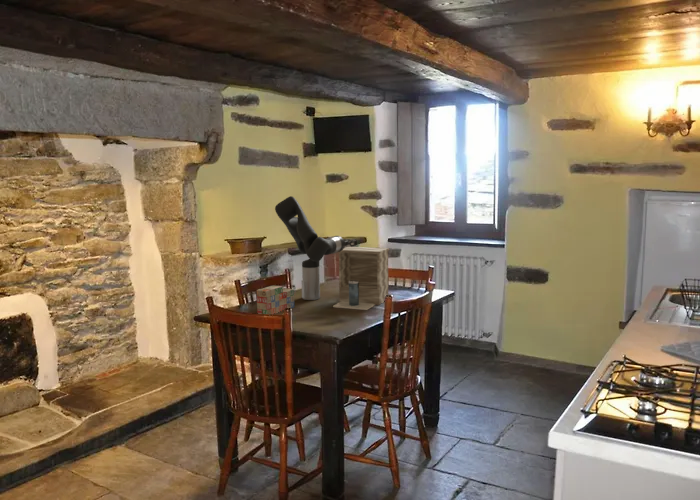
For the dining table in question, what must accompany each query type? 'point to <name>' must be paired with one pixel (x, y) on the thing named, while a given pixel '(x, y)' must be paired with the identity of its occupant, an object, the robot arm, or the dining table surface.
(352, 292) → the tin
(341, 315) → the dining table surface
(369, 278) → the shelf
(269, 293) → the stack of blocks
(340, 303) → the tile
